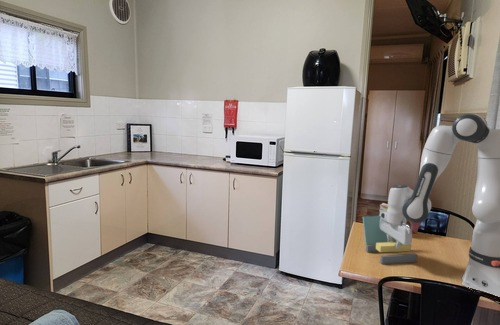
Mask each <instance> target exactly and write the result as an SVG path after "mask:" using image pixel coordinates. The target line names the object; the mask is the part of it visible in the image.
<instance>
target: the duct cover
mask: <svg viewBox="0 0 500 325" xmlns="http://www.w3.org/2000/svg"><path fill="white" fill-rule="evenodd" d="M380 218H381V216H379V215H372V216H371V215H367V216H362V224H363V234H364V243H365V246H366V245H370V244H376V243H383V242H388V238H387V233H385V232H384V231H382V230H381V229H380ZM392 240H393V242H396V239H394V238H393V237H392Z"/></svg>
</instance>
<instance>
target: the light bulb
mask: <svg viewBox="0 0 500 325" xmlns="http://www.w3.org/2000/svg"><path fill="white" fill-rule="evenodd" d="M409 223H410V228H411V231H412V234H417V233H418V231H419V230H418V229H419V228H420V226H421V225H422V223H423V222H420V223H414V222H411V221H409Z"/></svg>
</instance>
